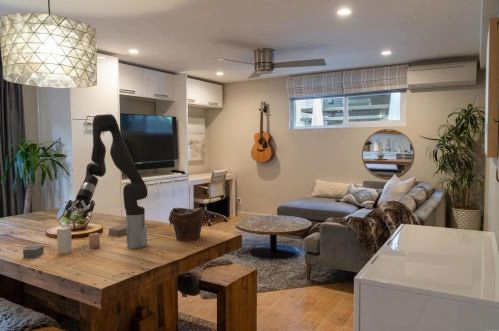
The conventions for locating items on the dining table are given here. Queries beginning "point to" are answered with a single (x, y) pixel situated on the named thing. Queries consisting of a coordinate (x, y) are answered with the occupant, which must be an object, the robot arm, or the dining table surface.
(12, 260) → the dining table surface
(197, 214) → the dark brown pot
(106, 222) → the dining table surface
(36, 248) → the grey squat block
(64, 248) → the tall cream block
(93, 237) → the pink rounded pebble
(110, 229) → the brick
